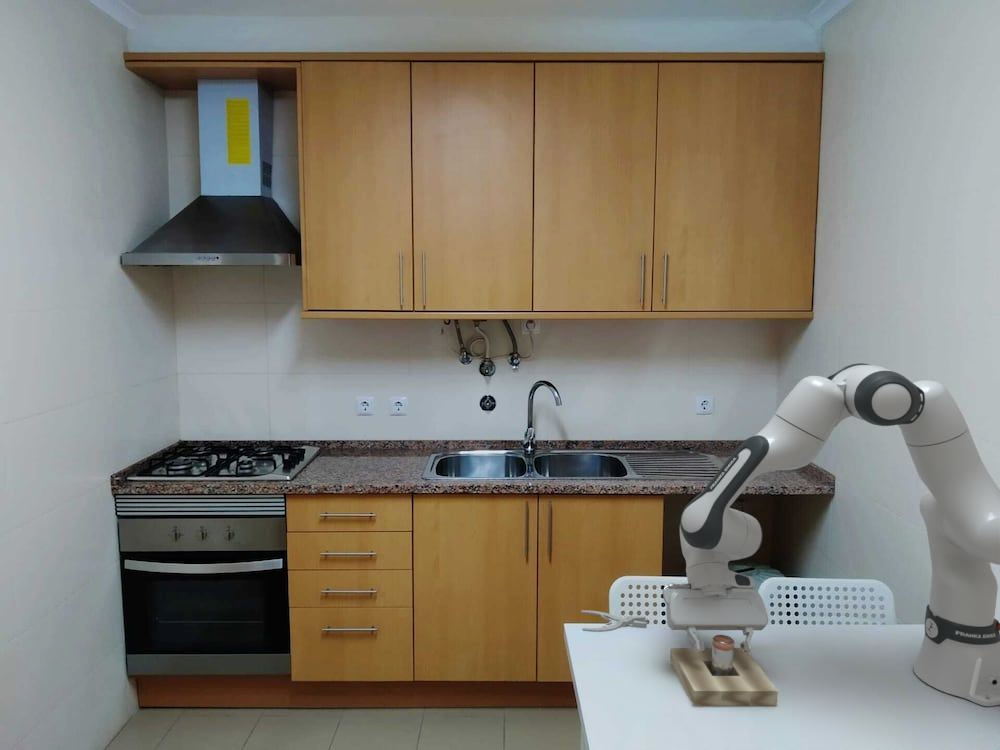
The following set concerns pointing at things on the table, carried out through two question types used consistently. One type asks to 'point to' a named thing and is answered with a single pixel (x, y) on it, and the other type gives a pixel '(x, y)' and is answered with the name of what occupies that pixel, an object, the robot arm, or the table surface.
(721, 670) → the steel peg
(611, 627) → the pliers
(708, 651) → the wooden flat square block
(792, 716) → the table surface
